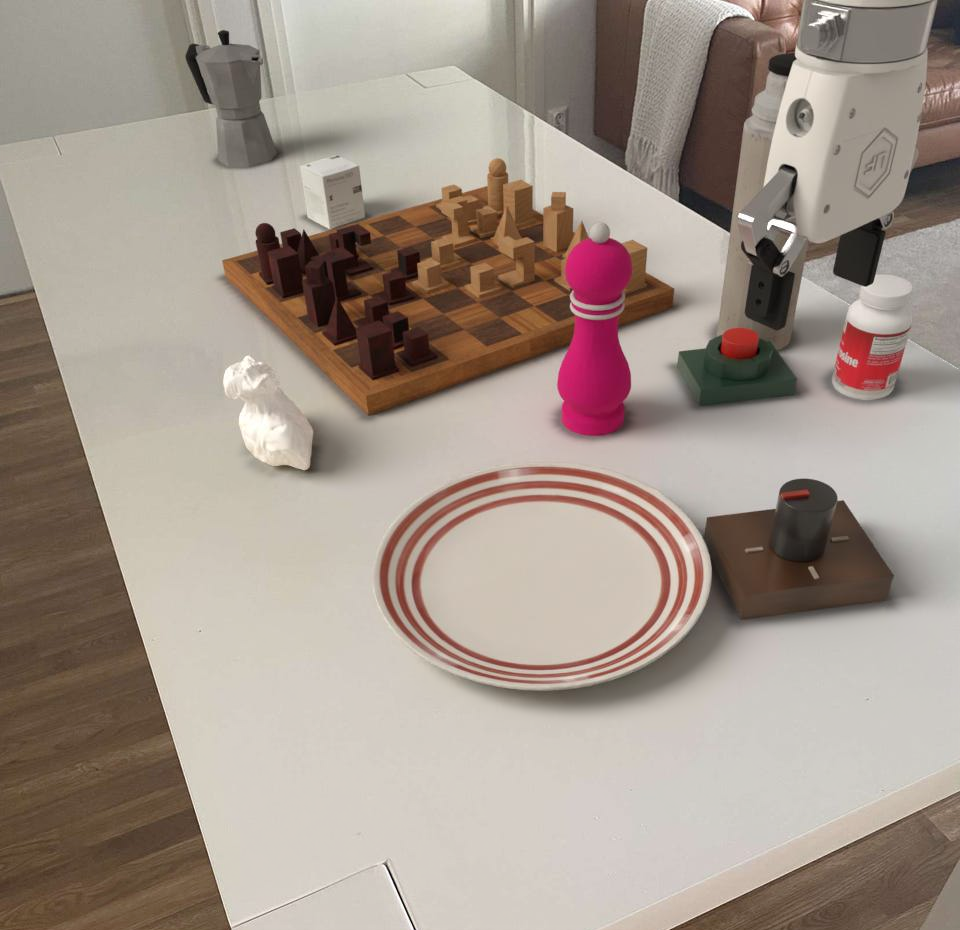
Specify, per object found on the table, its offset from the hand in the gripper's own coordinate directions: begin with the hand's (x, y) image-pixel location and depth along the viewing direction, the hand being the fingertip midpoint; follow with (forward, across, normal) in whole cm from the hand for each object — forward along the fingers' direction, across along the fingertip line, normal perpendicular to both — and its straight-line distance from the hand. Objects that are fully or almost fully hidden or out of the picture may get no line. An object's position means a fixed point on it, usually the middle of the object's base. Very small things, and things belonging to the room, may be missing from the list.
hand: (809, 300), depth 72 cm
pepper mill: (+22, +2, +24) cm, 32 cm away
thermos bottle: (+22, +26, +24) cm, 42 cm away
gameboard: (+22, +8, +57) cm, 61 cm away
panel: (+22, -2, -4) cm, 22 cm away
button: (+18, +18, +19) cm, 31 cm away
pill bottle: (+22, +27, +10) cm, 36 cm away
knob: (+19, -2, -4) cm, 19 cm away
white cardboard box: (+22, +11, +85) cm, 89 cm away
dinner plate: (+22, -19, +8) cm, 30 cm away
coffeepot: (+22, +13, +117) cm, 120 cm away
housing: (+22, +18, +19) cm, 34 cm away
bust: (+22, -25, +40) cm, 52 cm away
